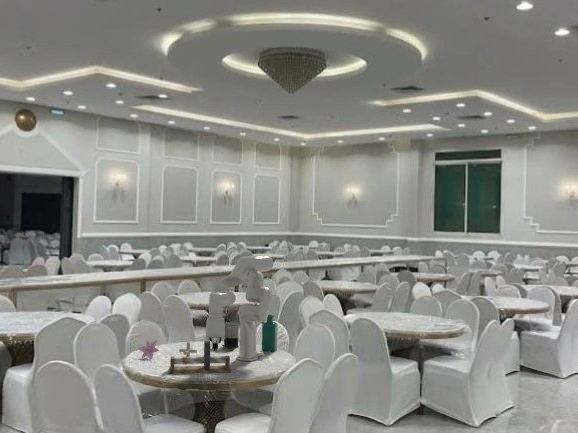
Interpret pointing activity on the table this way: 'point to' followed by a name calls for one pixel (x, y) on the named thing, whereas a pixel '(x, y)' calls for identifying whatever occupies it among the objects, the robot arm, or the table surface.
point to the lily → (149, 349)
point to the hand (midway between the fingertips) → (215, 350)
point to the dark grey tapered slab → (206, 355)
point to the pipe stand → (199, 369)
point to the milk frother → (231, 335)
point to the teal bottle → (269, 335)
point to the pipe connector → (188, 350)
